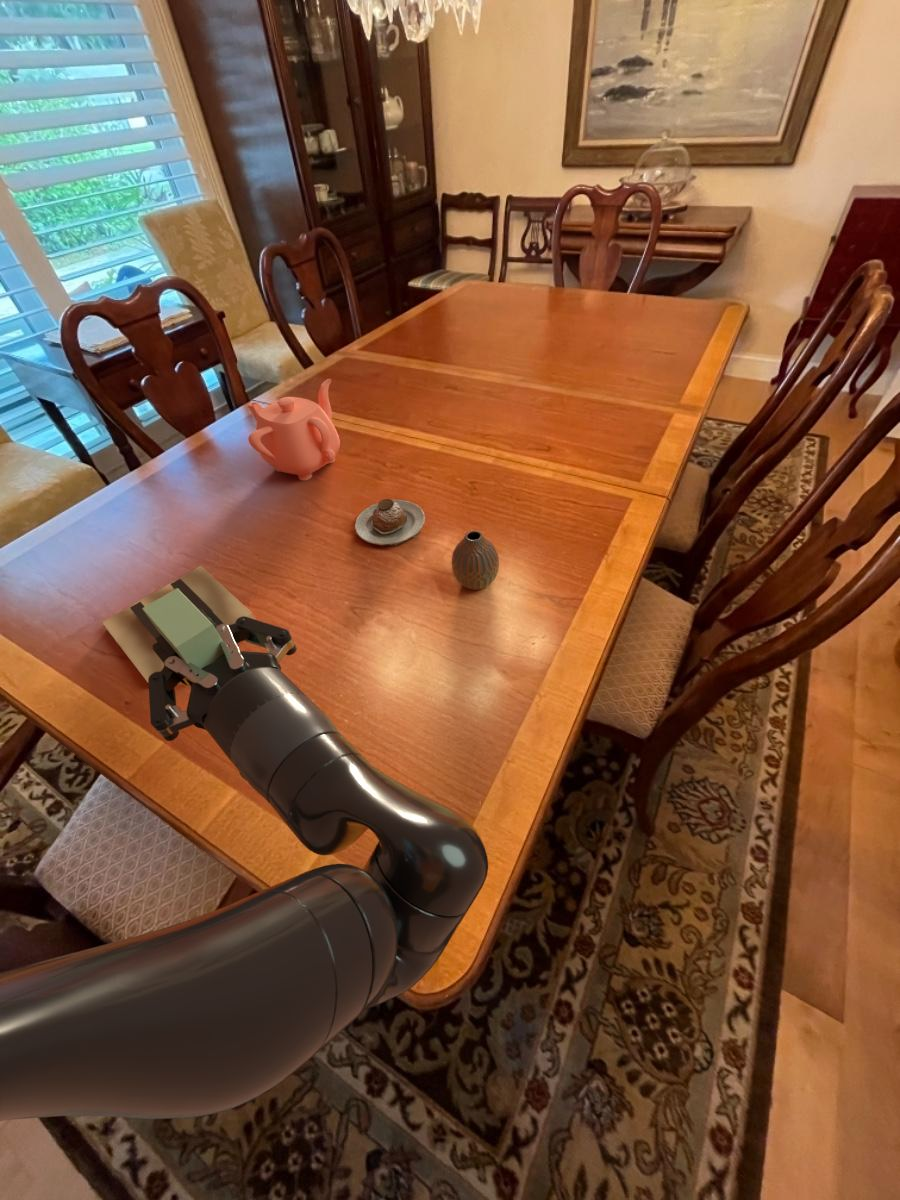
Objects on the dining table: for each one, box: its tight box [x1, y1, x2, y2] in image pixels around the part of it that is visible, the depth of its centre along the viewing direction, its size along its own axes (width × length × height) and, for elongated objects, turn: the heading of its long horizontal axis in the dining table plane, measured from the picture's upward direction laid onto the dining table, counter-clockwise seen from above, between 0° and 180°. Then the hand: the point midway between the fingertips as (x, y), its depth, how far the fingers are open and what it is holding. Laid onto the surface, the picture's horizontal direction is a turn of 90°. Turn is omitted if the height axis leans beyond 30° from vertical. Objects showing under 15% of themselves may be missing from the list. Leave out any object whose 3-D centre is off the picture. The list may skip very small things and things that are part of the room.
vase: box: [451, 529, 500, 591], centre depth 77 cm, size 7×7×9 cm
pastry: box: [354, 498, 426, 547], centre depth 90 cm, size 12×12×5 cm
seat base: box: [101, 565, 257, 685], centre depth 78 cm, size 16×16×4 cm
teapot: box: [247, 378, 341, 481], centre depth 103 cm, size 16×17×14 cm
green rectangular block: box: [142, 588, 224, 669], centre depth 52 cm, size 4×7×11 cm, turn 45°
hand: (181, 629), depth 52 cm, fingers closed on green rectangular block, 3 cm apart
